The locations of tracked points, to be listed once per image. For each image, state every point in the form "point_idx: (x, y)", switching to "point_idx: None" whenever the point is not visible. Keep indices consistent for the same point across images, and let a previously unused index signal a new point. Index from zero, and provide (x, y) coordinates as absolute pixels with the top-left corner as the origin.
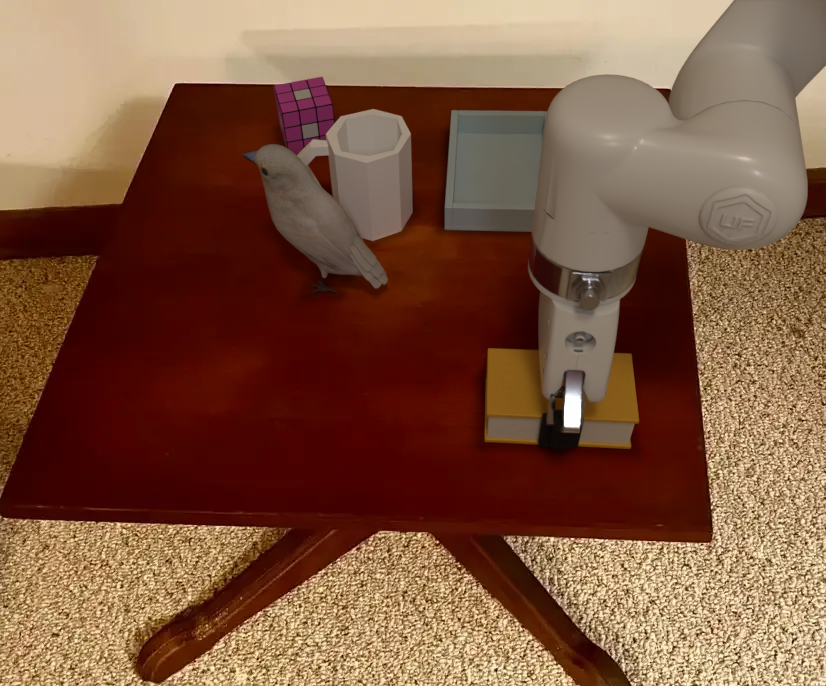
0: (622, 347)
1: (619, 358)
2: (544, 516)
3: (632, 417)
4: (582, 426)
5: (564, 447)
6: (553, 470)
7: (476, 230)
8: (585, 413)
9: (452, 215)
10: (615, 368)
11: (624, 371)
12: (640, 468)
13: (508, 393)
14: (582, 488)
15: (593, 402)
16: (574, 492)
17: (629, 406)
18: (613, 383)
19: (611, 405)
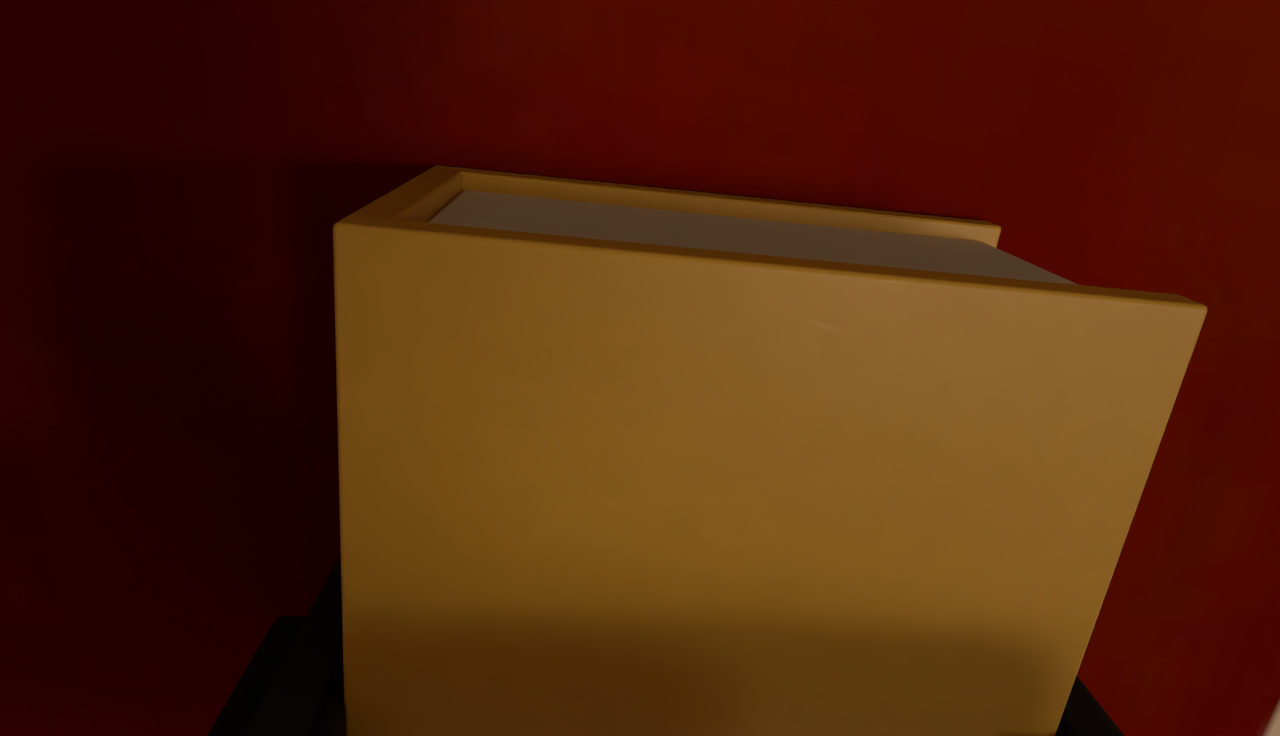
0: (74, 106)
1: (412, 361)
2: (1269, 691)
3: (1153, 359)
4: (1113, 722)
5: None
6: None
7: None
8: (1015, 705)
9: None
10: (545, 416)
11: (591, 341)
12: (1135, 182)
13: None
14: (1174, 518)
15: (923, 643)
16: (1185, 557)
17: (1023, 363)
18: (735, 463)
19: (984, 516)
